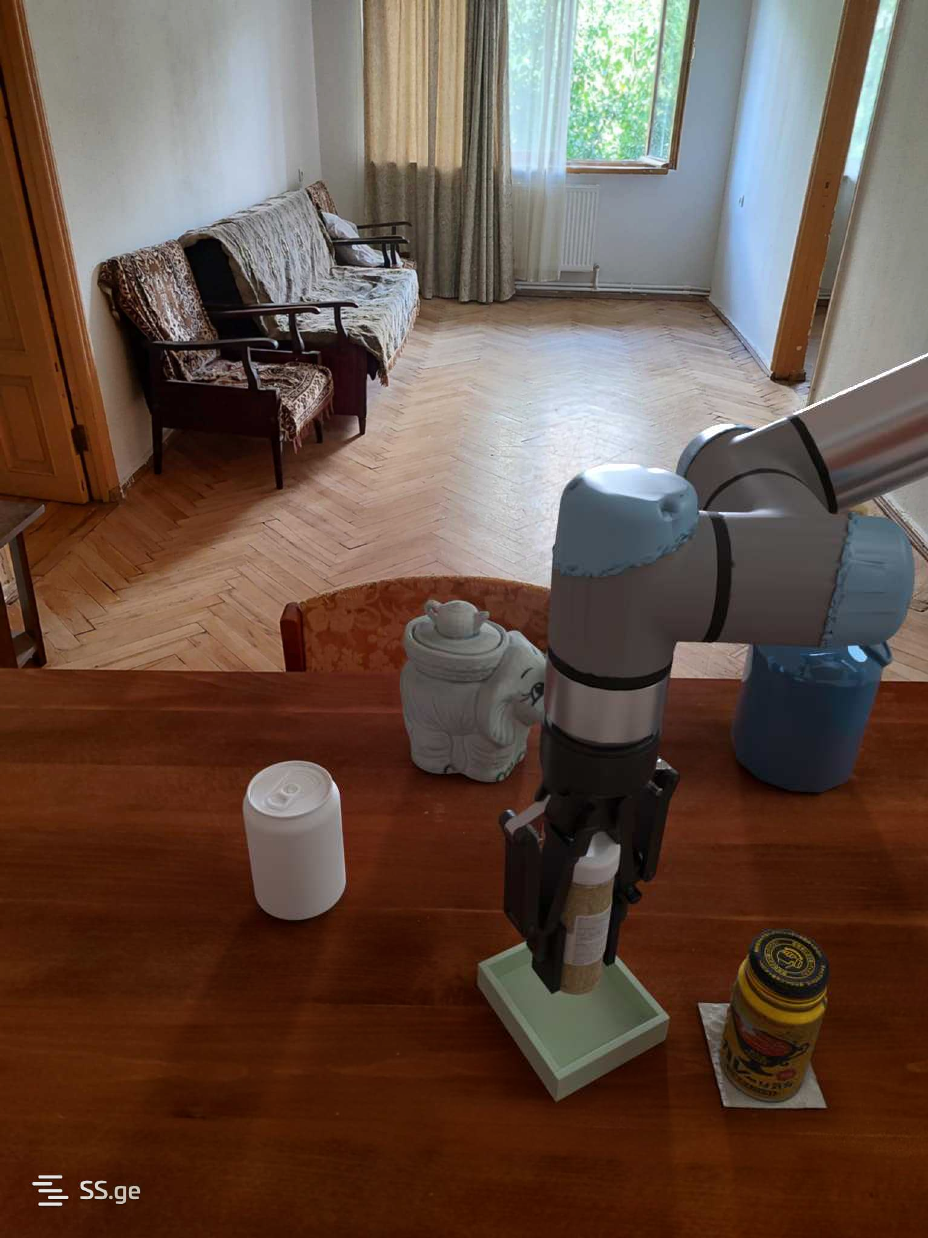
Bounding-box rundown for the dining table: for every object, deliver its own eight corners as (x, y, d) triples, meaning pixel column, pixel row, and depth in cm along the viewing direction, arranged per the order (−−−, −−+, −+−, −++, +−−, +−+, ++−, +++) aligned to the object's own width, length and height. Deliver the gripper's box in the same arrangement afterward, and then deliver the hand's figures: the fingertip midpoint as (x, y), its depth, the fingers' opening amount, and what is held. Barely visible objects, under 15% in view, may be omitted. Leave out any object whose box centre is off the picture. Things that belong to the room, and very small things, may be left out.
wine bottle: (723, 782, 94) (778, 521, 79) (731, 712, 105) (780, 472, 90) (861, 811, 90) (945, 544, 75) (854, 736, 101) (927, 489, 86)
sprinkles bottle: (535, 954, 69) (545, 823, 62) (590, 943, 70) (606, 813, 63) (554, 1004, 65) (567, 870, 58) (612, 992, 66) (632, 859, 59)
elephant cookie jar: (584, 776, 94) (601, 624, 85) (467, 829, 87) (470, 669, 78) (496, 700, 106) (502, 559, 97) (386, 741, 99) (380, 593, 90)
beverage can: (363, 878, 81) (357, 777, 75) (307, 939, 75) (296, 834, 69) (295, 845, 85) (284, 746, 79) (236, 901, 79) (219, 798, 73)
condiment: (724, 1108, 63) (753, 998, 57) (697, 1004, 70) (721, 897, 64) (826, 1110, 63) (866, 1000, 57) (789, 1005, 70) (821, 898, 64)
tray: (665, 1039, 67) (670, 1018, 66) (555, 1102, 63) (558, 1080, 62) (579, 936, 76) (581, 914, 75) (477, 985, 71) (477, 963, 70)
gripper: (669, 651, 62) (632, 889, 73) (451, 721, 54) (448, 975, 66) (747, 706, 56) (694, 955, 68) (516, 793, 49) (501, 1057, 60)
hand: (573, 964), depth 67 cm, fingers closed on sprinkles bottle, 4 cm apart
